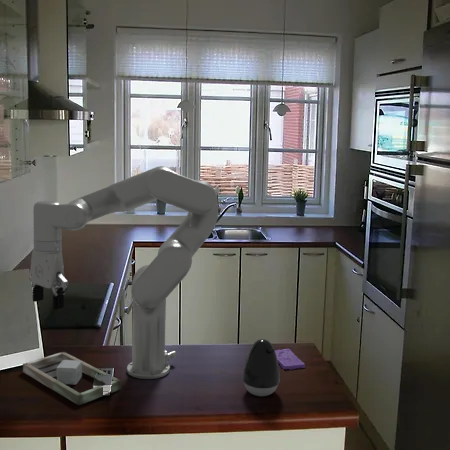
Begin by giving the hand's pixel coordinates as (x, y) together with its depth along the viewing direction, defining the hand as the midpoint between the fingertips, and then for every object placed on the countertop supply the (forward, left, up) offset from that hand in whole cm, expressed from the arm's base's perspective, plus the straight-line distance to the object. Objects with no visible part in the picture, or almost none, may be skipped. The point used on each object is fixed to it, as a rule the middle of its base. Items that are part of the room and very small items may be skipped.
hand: (48, 304), depth 164 cm
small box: (-1, +9, -21) cm, 22 cm away
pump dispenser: (-34, +51, -21) cm, 65 cm away
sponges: (-57, +43, -21) cm, 75 cm away
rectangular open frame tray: (-1, +9, -20) cm, 22 cm away
